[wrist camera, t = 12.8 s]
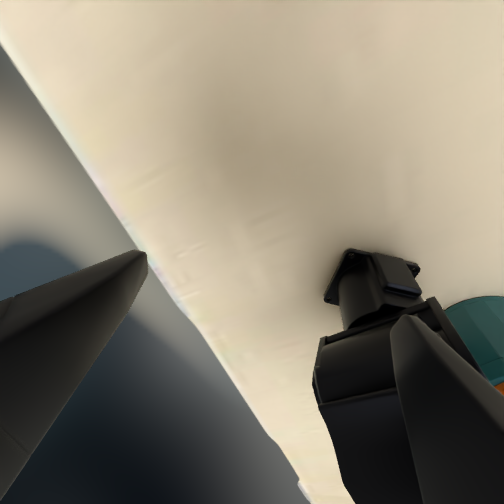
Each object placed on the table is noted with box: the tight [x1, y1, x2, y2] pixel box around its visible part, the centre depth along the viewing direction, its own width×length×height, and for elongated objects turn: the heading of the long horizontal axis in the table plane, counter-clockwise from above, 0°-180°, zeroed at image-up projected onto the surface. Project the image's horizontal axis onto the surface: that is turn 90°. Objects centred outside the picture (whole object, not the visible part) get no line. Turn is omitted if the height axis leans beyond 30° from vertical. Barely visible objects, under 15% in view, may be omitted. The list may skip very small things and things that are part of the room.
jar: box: [444, 296, 504, 386], centre depth 22 cm, size 8×8×7 cm
